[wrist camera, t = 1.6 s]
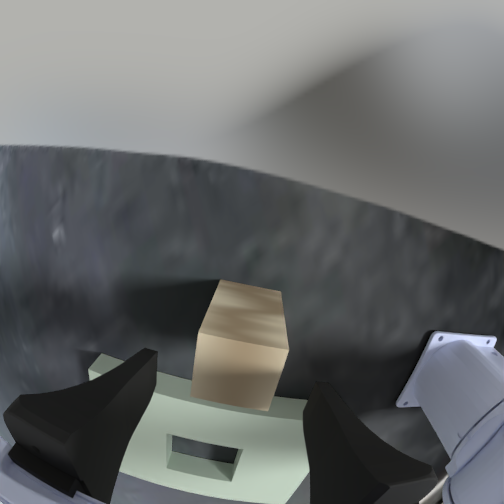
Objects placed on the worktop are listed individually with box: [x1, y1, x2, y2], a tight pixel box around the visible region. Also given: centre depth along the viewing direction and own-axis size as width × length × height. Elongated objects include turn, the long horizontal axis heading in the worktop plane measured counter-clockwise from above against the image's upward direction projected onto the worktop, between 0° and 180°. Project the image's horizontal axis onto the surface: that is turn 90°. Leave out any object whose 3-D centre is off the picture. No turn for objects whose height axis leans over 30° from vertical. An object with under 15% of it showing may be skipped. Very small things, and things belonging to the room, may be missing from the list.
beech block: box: [190, 280, 289, 411], centre depth 16 cm, size 4×4×7 cm
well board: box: [88, 353, 310, 504], centre depth 22 cm, size 20×16×2 cm
